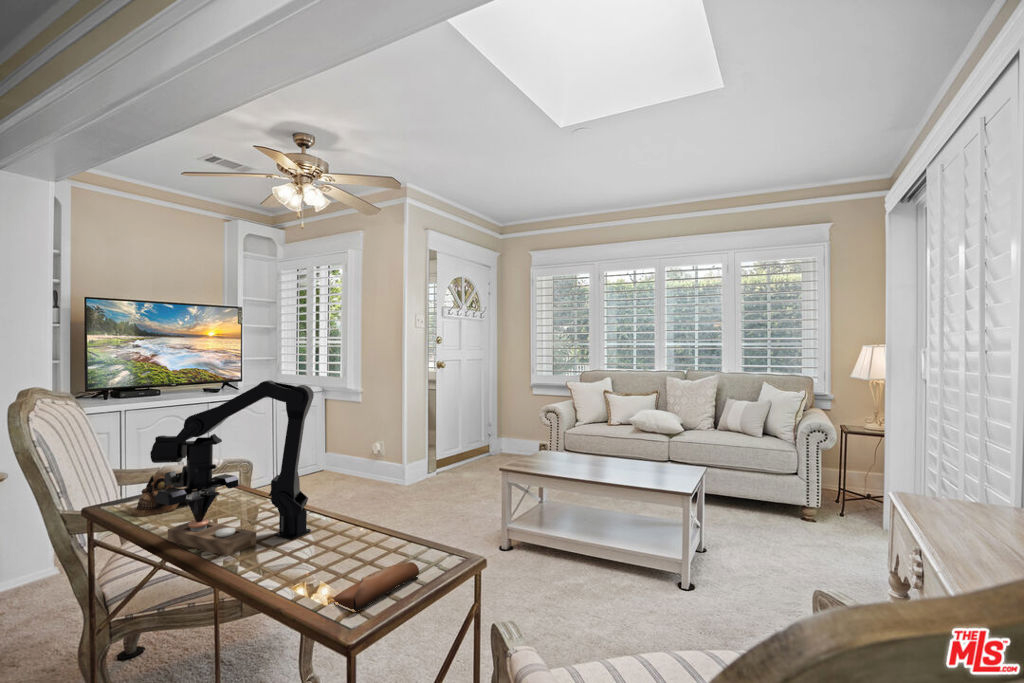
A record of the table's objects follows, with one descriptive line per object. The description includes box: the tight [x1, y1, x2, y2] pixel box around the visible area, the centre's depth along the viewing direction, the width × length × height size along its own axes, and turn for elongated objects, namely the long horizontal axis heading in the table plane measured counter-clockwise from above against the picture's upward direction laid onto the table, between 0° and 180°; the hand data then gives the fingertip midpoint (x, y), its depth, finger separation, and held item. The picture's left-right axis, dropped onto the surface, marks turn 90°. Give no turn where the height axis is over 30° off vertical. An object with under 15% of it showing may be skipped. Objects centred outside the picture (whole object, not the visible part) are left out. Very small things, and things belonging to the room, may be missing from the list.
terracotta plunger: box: [188, 518, 210, 532], centre depth 130 cm, size 4×4×4 cm
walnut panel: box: [167, 521, 257, 557], centre depth 128 cm, size 22×8×3 cm, turn 67°
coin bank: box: [130, 464, 196, 517], centre depth 156 cm, size 16×17×13 cm
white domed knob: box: [215, 527, 236, 539], centre depth 126 cm, size 4×4×4 cm
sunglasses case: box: [332, 561, 420, 611], centre depth 105 cm, size 18×7×7 cm
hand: (198, 521), depth 130 cm, fingers closed, pressing on terracotta plunger
